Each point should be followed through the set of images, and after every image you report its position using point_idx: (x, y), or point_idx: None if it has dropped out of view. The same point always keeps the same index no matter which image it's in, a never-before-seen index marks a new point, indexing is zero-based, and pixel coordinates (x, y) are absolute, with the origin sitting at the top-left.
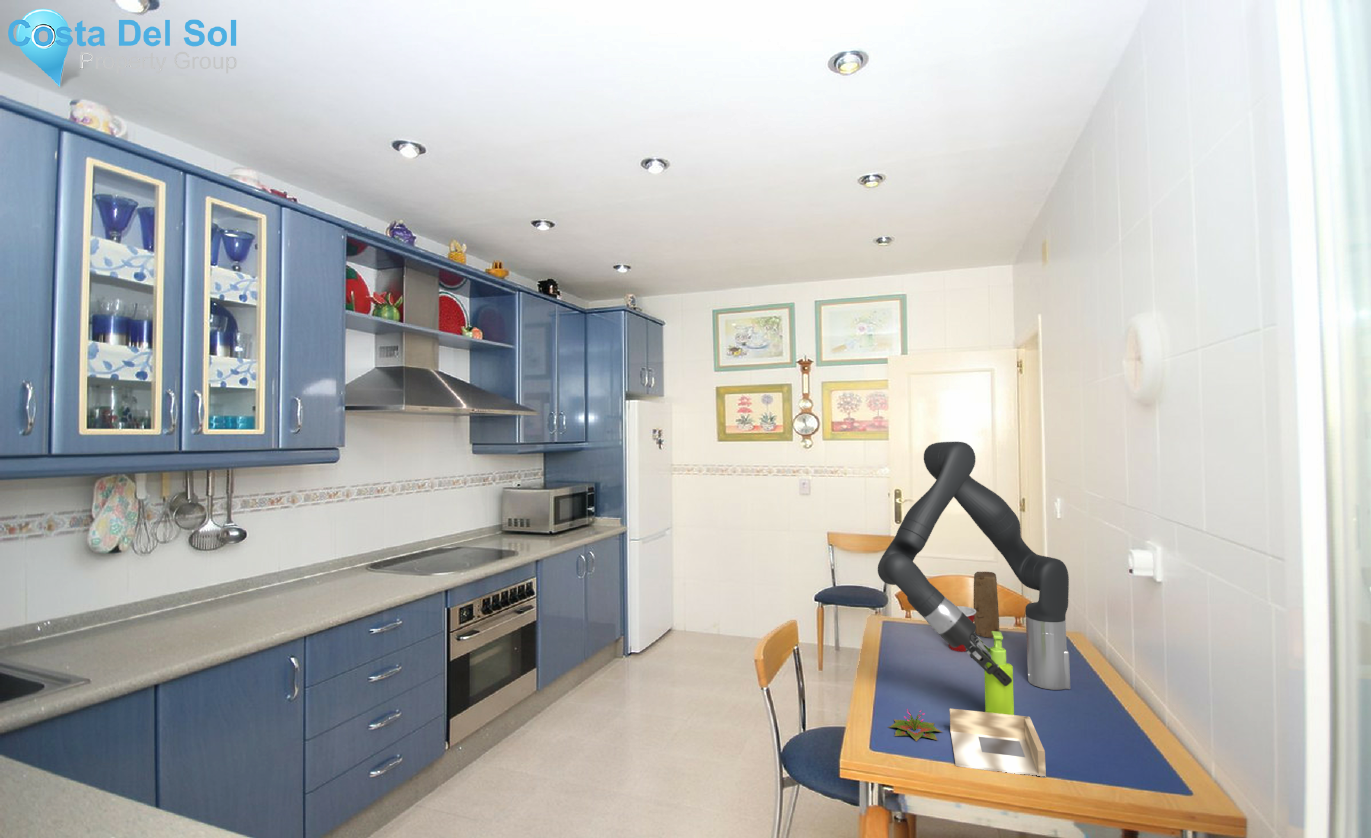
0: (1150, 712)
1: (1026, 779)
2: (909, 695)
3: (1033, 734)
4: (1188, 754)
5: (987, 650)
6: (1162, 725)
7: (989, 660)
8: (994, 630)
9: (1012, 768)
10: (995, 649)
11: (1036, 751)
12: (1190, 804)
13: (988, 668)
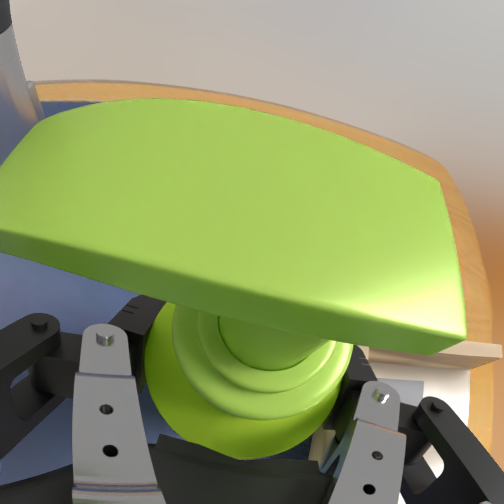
0: (170, 88)
1: (475, 393)
2: None
3: (452, 348)
4: (319, 117)
5: (350, 466)
6: (219, 95)
7: (480, 450)
8: None
9: (462, 413)
10: (325, 368)
11: (486, 359)
12: (455, 198)
13: (417, 458)
